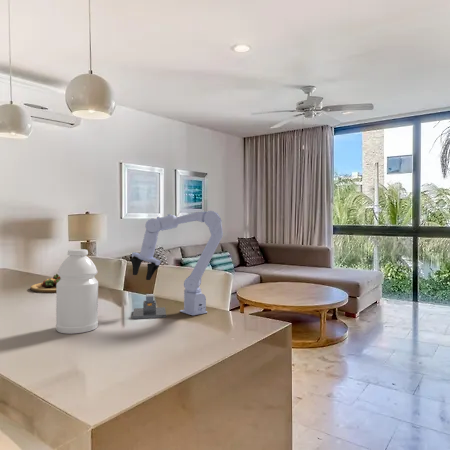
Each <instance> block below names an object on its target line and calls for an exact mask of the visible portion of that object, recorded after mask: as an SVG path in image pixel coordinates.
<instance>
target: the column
mask: <svg viewBox="0 0 450 450" xmlns="http://www.w3.org/2000/svg"><path fill="white" fill-rule="evenodd" d="M154 297H155V296H154V294H153V293H150V294H149V293H146V294H145V301H146V303H153V300H154Z"/></svg>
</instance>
